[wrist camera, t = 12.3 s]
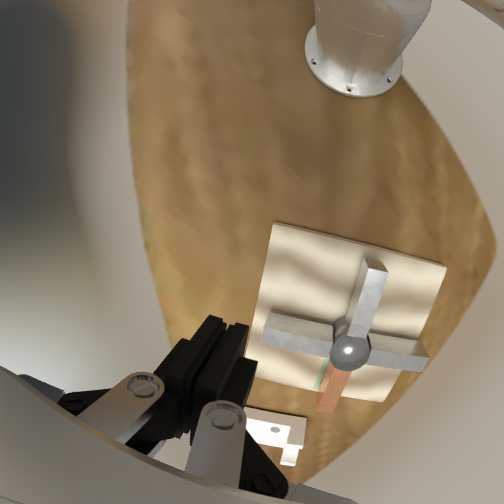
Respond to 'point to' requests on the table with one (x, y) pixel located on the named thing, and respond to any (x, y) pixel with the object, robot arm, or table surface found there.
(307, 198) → the table surface
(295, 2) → the table surface
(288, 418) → the bracket
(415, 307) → the base plate
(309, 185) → the table surface
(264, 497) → the robot arm
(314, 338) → the capstan
